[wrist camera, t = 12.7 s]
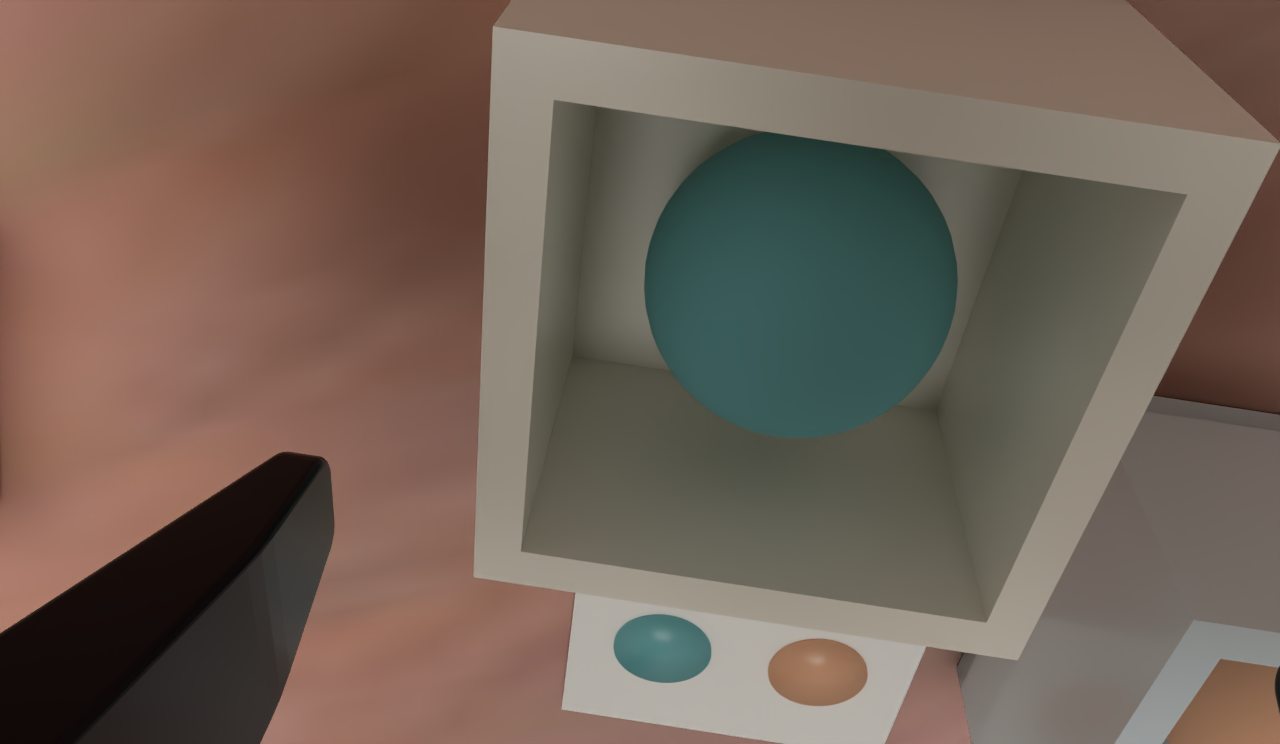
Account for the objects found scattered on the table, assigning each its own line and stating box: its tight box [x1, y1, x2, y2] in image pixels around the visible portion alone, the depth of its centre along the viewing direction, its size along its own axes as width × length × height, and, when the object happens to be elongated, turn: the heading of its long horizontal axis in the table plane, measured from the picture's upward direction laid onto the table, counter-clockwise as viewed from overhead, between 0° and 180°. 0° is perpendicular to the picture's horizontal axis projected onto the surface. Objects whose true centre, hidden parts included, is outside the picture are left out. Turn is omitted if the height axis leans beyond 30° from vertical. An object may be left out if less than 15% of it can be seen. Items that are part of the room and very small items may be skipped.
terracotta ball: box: [1166, 659, 1280, 744], centre depth 17 cm, size 4×4×4 cm
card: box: [562, 593, 926, 744], centre depth 21 cm, size 5×7×1 cm
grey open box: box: [957, 396, 1280, 744], centre depth 17 cm, size 7×7×5 cm
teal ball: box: [644, 132, 958, 438], centre depth 13 cm, size 4×4×4 cm
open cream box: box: [473, 0, 1280, 661], centre depth 13 cm, size 7×7×5 cm
